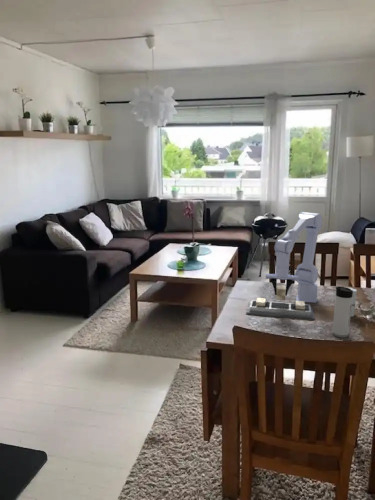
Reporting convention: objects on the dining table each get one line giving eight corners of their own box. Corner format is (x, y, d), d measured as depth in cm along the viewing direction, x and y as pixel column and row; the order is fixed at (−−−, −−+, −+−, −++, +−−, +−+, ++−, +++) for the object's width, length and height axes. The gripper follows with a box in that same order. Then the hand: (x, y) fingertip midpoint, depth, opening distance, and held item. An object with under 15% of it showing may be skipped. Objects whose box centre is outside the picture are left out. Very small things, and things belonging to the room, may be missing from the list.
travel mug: (328, 331, 170) (332, 285, 166) (344, 331, 171) (348, 284, 166) (335, 338, 164) (339, 290, 160) (351, 337, 165) (356, 289, 160)
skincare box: (340, 315, 188) (342, 290, 185) (339, 311, 192) (341, 287, 189) (354, 317, 186) (357, 291, 183) (353, 313, 190) (356, 288, 187)
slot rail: (312, 309, 194) (313, 299, 193) (314, 320, 182) (315, 309, 181) (248, 304, 201) (248, 294, 200) (246, 314, 189) (246, 303, 187)
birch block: (285, 295, 193) (285, 285, 191) (285, 300, 187) (285, 289, 186) (276, 295, 193) (276, 285, 192) (276, 299, 188) (276, 289, 187)
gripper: (265, 267, 184) (264, 296, 187) (299, 269, 181) (297, 298, 184) (266, 263, 191) (265, 291, 194) (298, 265, 188) (296, 293, 191)
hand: (280, 294), depth 190 cm, fingers closed on birch block, 4 cm apart
